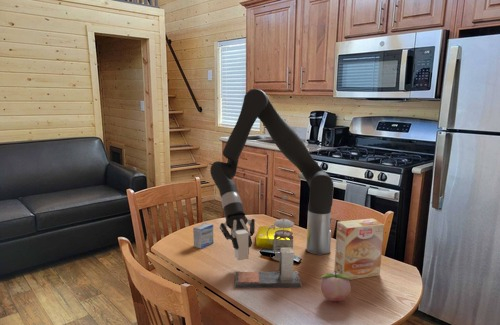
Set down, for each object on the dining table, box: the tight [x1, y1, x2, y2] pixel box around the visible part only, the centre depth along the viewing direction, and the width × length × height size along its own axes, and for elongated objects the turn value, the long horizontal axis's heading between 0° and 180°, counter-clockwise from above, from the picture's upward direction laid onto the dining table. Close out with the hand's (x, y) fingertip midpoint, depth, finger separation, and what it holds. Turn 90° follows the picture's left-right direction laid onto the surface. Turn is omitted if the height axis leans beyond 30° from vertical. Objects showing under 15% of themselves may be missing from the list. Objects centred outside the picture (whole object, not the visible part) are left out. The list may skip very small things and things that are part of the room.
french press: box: [267, 195, 295, 262], centre depth 139 cm, size 10×12×25 cm
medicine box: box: [193, 222, 215, 250], centre depth 150 cm, size 8×4×9 cm, turn 143°
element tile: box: [255, 225, 292, 249], centre depth 156 cm, size 15×15×5 cm
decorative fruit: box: [319, 271, 352, 302], centre depth 109 cm, size 9×8×10 cm
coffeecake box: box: [333, 217, 385, 280], centre depth 126 cm, size 15×7×20 cm, turn 105°
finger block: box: [234, 229, 250, 262], centre depth 128 cm, size 4×4×10 cm
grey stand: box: [234, 248, 302, 289], centre depth 120 cm, size 22×8×12 cm, turn 92°
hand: (243, 247), depth 127 cm, fingers closed on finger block, 4 cm apart
